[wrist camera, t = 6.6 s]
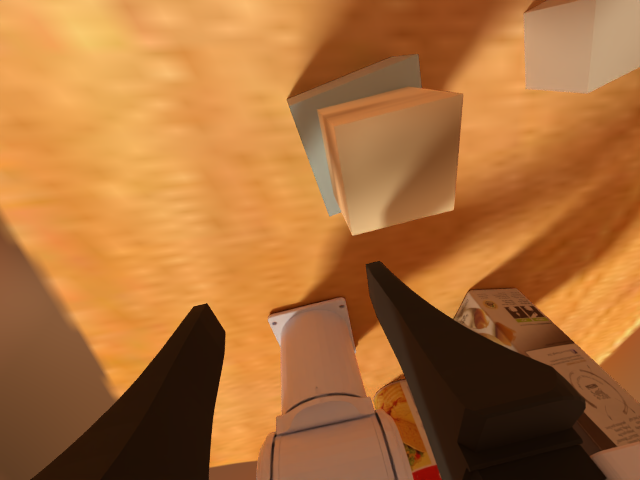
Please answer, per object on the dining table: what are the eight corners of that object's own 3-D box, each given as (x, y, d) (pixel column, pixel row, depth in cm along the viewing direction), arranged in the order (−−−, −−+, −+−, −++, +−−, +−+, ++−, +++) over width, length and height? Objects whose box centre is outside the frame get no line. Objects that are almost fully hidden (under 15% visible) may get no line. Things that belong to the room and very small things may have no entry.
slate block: (405, 161, 21) (431, 178, 17) (321, 193, 21) (329, 216, 18) (390, 56, 17) (418, 53, 13) (286, 98, 17) (288, 106, 14)
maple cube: (409, 175, 17) (453, 209, 13) (333, 194, 17) (352, 235, 13) (408, 86, 14) (463, 93, 10) (316, 109, 14) (334, 126, 10)
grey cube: (590, 54, 18) (673, 50, 14) (524, 88, 19) (587, 93, 15) (598, -30, 16) (699, -61, 12) (522, 13, 16) (596, -4, 13)
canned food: (365, 407, 40) (394, 519, 30) (387, 377, 37) (429, 493, 27) (408, 408, 43) (449, 512, 33) (434, 380, 39) (489, 488, 29)
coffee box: (466, 288, 29) (629, 476, 16) (517, 286, 30) (710, 461, 17) (439, 342, 34) (546, 521, 21) (484, 339, 35) (613, 507, 22)
